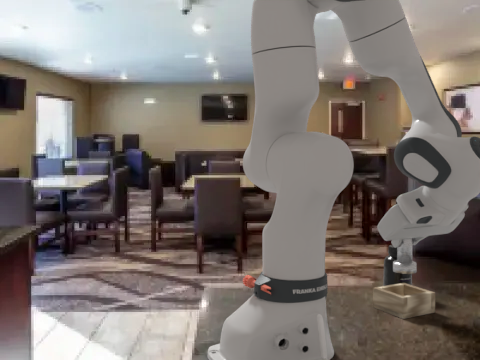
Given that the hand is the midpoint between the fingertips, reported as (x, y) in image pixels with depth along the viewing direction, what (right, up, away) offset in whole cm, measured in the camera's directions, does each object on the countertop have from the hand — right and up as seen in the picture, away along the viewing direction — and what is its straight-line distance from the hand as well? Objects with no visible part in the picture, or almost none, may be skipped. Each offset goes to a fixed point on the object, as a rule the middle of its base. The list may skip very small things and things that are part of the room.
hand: (402, 243), depth 116 cm
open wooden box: (0, -15, 0) cm, 15 cm away
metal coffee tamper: (0, -6, 0) cm, 6 cm away
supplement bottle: (+3, -14, +13) cm, 20 cm away
